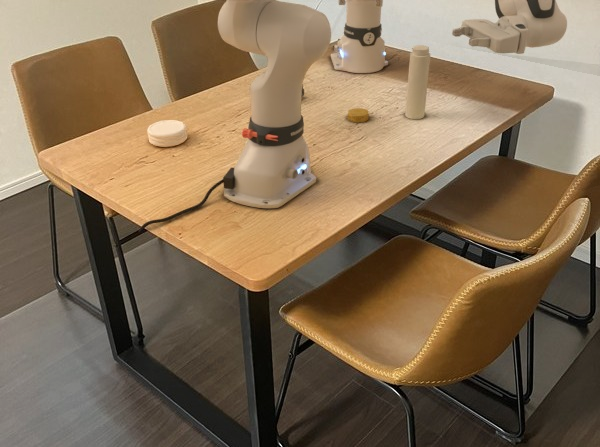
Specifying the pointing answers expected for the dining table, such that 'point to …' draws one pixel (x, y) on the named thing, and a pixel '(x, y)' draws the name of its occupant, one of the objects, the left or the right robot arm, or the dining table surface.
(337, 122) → the dining table surface
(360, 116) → the lid
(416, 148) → the dining table surface
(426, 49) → the jar
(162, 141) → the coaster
